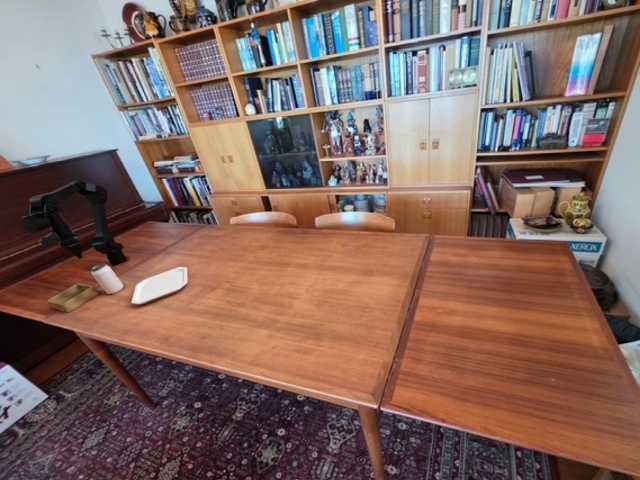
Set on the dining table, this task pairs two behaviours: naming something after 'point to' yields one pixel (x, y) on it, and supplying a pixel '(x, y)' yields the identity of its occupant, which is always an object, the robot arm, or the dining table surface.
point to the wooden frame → (73, 297)
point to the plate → (160, 286)
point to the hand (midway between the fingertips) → (79, 256)
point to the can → (107, 278)
